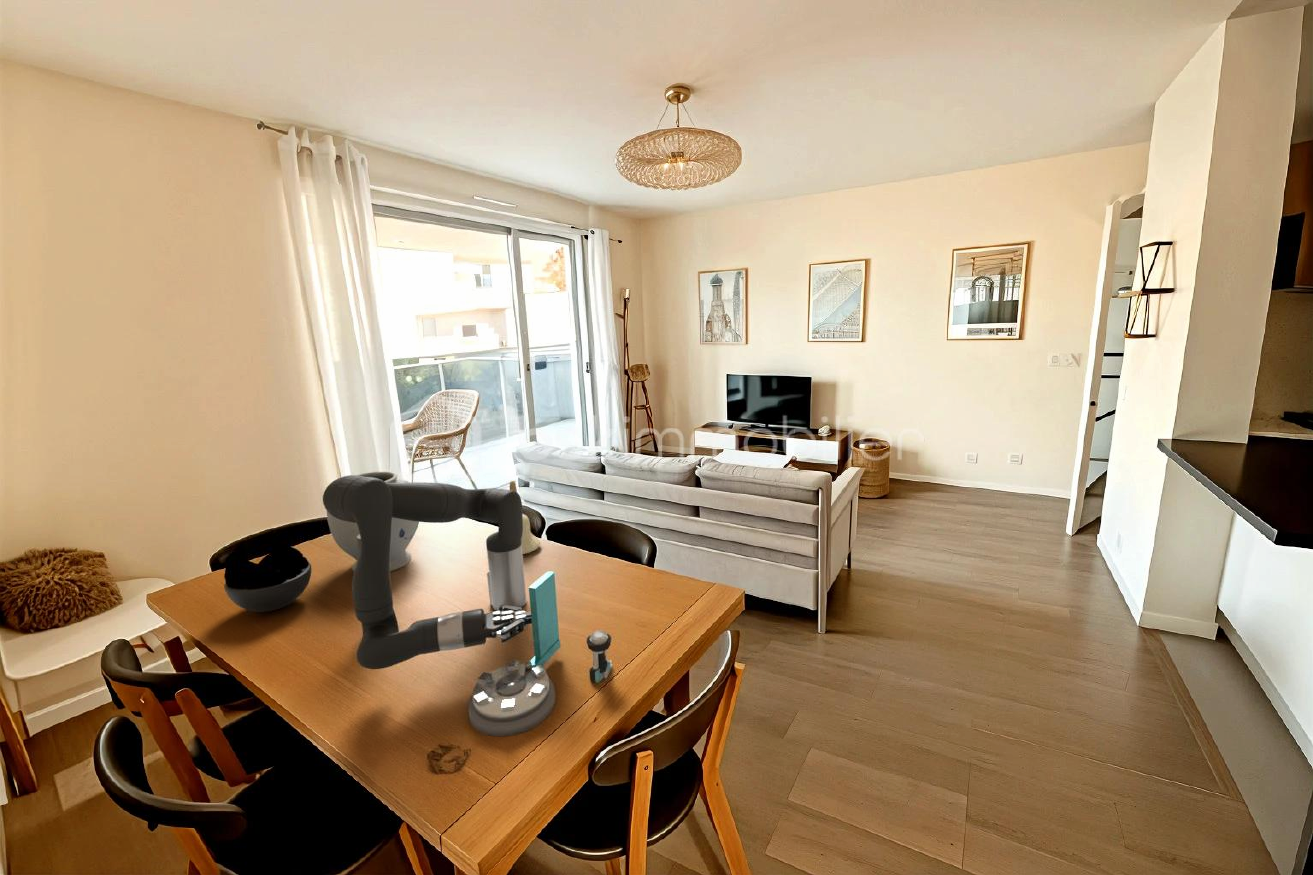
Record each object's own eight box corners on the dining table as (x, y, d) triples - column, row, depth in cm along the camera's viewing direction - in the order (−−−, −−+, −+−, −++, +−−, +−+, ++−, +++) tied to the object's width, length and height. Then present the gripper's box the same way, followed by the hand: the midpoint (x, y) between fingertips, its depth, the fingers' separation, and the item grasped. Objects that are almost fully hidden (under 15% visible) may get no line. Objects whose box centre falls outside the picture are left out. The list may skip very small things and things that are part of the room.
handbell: (534, 559, 179) (529, 487, 174) (489, 560, 180) (482, 488, 175) (544, 540, 194) (539, 474, 189) (503, 541, 195) (496, 475, 190)
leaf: (450, 781, 92) (451, 772, 92) (420, 766, 95) (420, 757, 94) (476, 756, 98) (477, 748, 98) (447, 743, 101) (447, 735, 100)
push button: (602, 662, 123) (600, 623, 121) (621, 670, 120) (619, 629, 118) (583, 679, 117) (581, 637, 115) (603, 687, 114) (600, 644, 112)
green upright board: (522, 729, 100) (514, 638, 96) (456, 712, 105) (446, 625, 101) (585, 651, 123) (580, 575, 120) (529, 640, 128) (522, 567, 125)
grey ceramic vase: (442, 557, 183) (432, 472, 177) (365, 590, 161) (351, 494, 155) (396, 542, 197) (385, 463, 191) (319, 570, 175) (304, 482, 169)
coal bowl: (332, 597, 157) (321, 536, 154) (258, 632, 140) (245, 565, 136) (289, 585, 166) (278, 527, 162) (215, 617, 148) (201, 553, 144)
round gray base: (450, 716, 107) (449, 707, 107) (514, 669, 121) (513, 661, 121) (511, 748, 98) (510, 739, 98) (572, 694, 112) (571, 686, 112)
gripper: (459, 629, 110) (544, 614, 115) (461, 599, 122) (539, 587, 127) (462, 662, 111) (547, 646, 116) (464, 629, 124) (541, 615, 129)
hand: (542, 615), depth 122 cm, fingers closed
